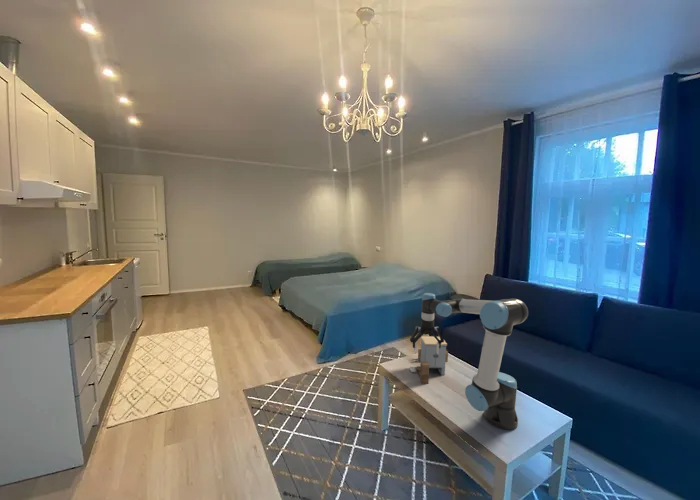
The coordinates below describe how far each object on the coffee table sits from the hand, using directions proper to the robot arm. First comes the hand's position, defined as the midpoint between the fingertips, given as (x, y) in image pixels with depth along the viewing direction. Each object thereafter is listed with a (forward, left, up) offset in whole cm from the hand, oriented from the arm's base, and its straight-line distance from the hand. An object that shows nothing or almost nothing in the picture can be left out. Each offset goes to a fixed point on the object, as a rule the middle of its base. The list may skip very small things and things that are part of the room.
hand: (426, 353), depth 179 cm
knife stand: (+28, -13, -19) cm, 36 cm away
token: (+13, +4, -19) cm, 23 cm away
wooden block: (+7, 0, -19) cm, 20 cm away
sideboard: (+14, -8, -19) cm, 25 cm away
